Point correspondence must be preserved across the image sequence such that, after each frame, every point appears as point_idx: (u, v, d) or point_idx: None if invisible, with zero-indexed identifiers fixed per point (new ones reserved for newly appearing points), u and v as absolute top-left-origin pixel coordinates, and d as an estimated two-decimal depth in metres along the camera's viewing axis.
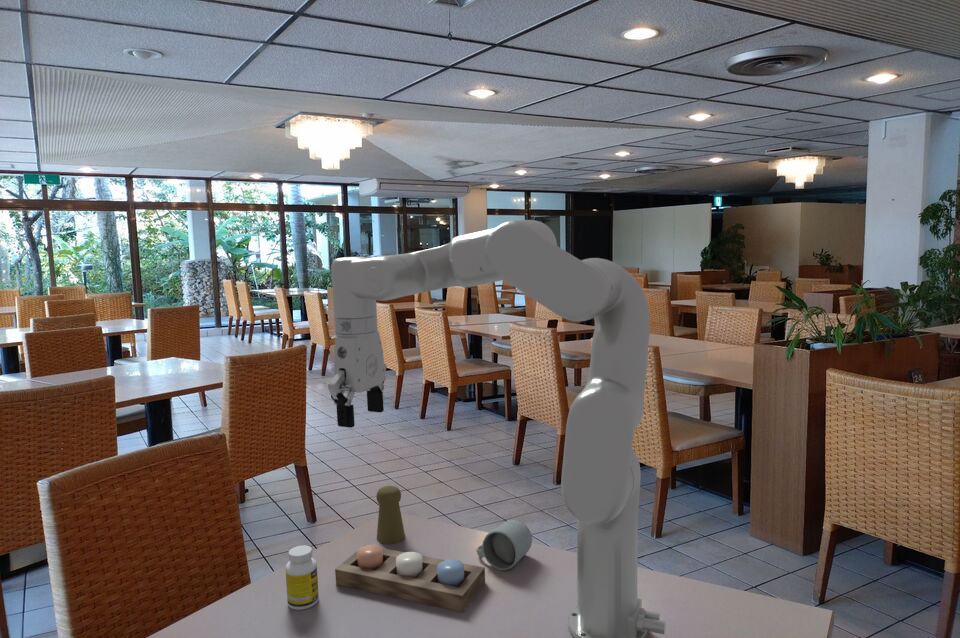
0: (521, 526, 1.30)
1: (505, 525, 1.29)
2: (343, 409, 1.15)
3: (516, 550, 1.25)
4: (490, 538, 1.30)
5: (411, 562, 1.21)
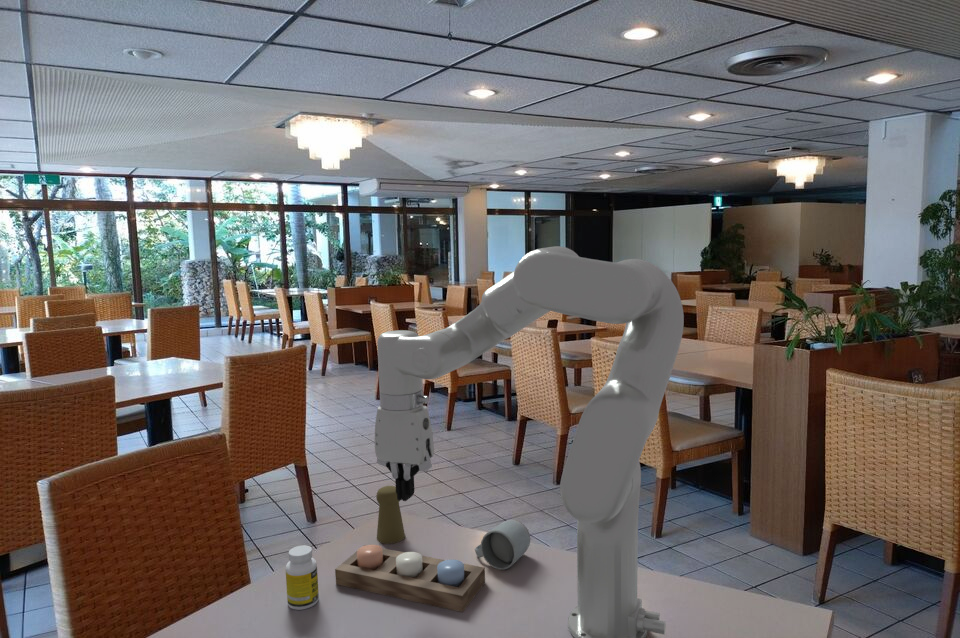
0: (520, 526, 1.30)
1: (503, 525, 1.29)
2: (412, 480, 1.20)
3: (514, 550, 1.25)
4: (488, 538, 1.30)
5: (411, 562, 1.21)
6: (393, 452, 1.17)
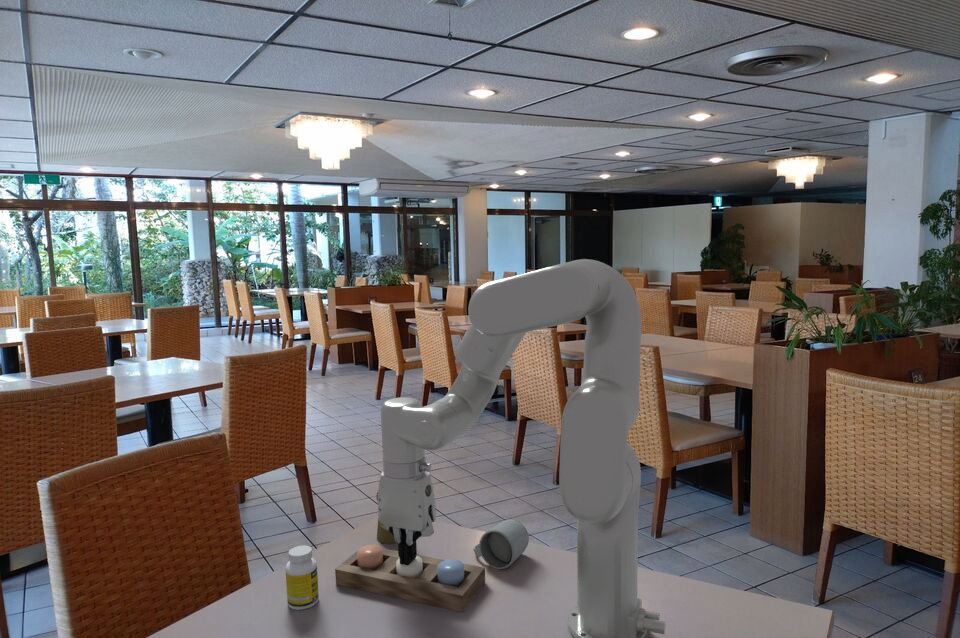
0: (518, 526, 1.30)
1: (502, 524, 1.30)
2: (415, 544, 1.22)
3: (513, 549, 1.25)
4: (487, 537, 1.30)
5: (411, 565, 1.21)
6: (396, 518, 1.19)
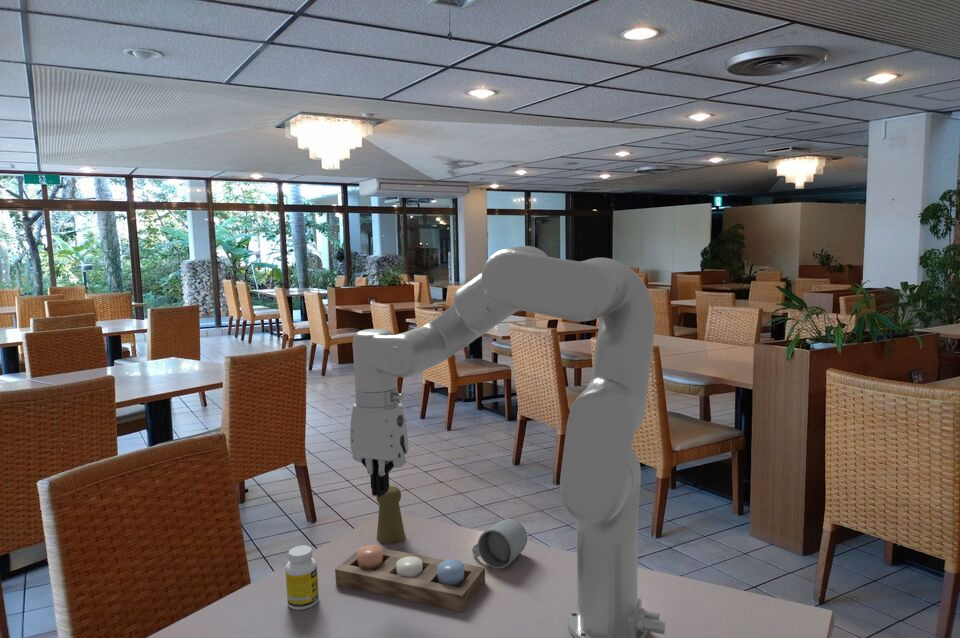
0: (516, 525, 1.31)
1: (500, 524, 1.30)
2: (387, 476, 1.22)
3: (511, 548, 1.25)
4: (485, 537, 1.31)
5: (411, 566, 1.21)
6: (368, 448, 1.20)
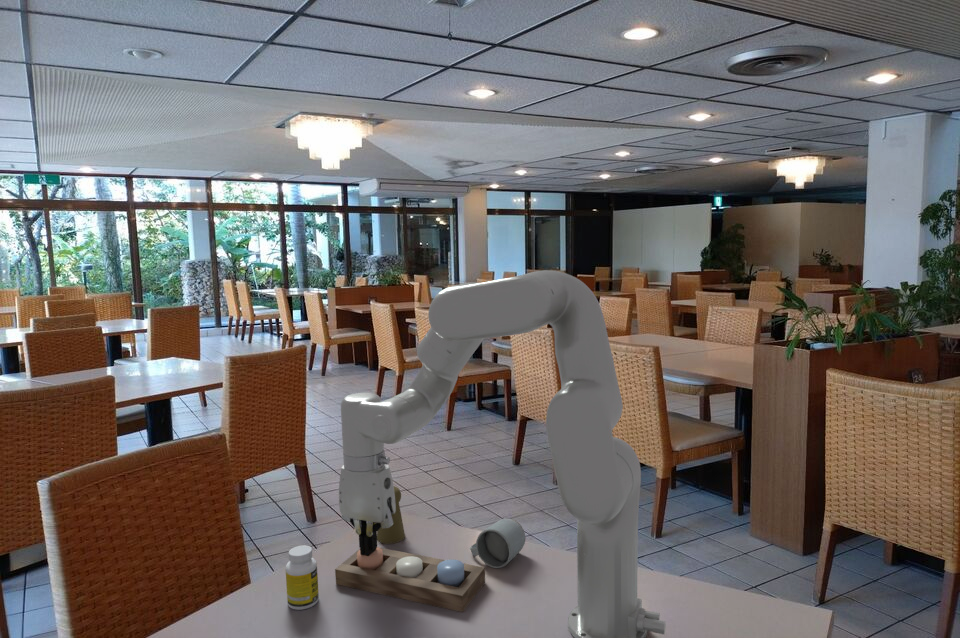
0: (515, 525, 1.31)
1: (499, 523, 1.30)
2: (375, 536, 1.25)
3: (509, 548, 1.25)
4: (484, 536, 1.31)
5: (411, 566, 1.21)
6: (356, 510, 1.23)
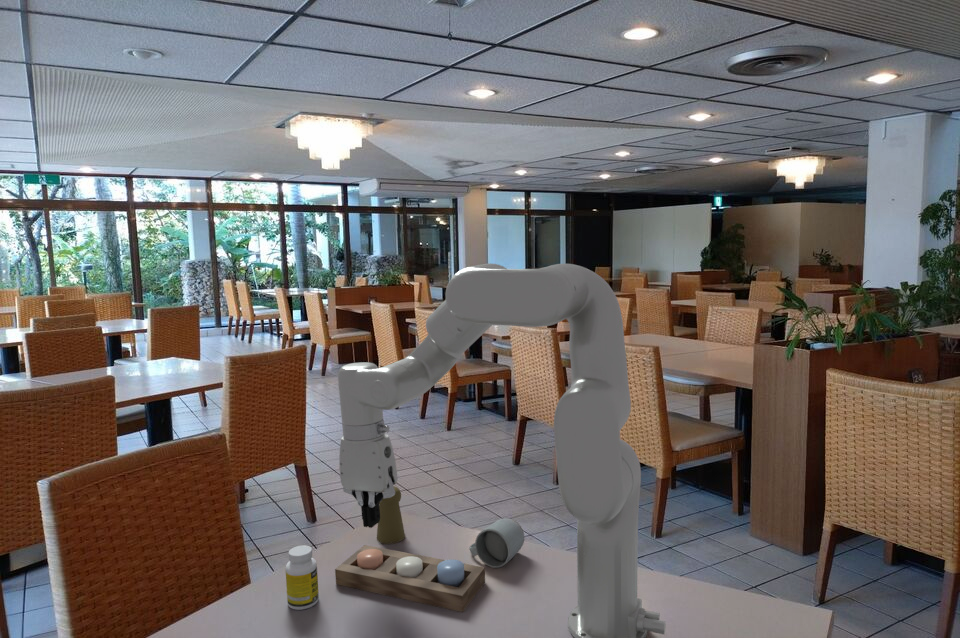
0: (514, 524, 1.31)
1: (498, 523, 1.30)
2: (377, 507, 1.24)
3: (508, 548, 1.26)
4: (483, 536, 1.31)
5: (411, 566, 1.21)
6: (357, 481, 1.21)
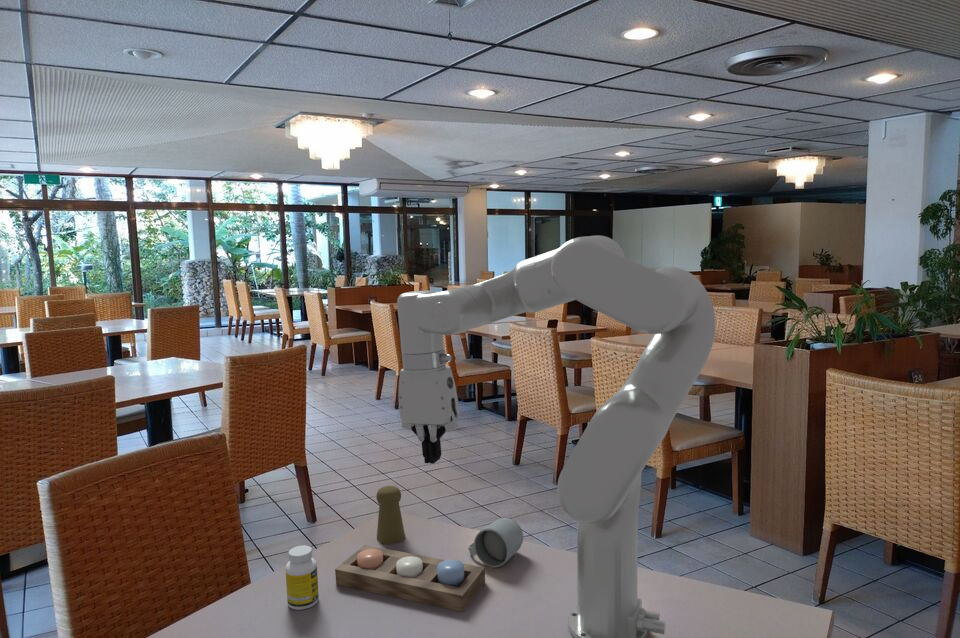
0: (513, 524, 1.31)
1: (496, 523, 1.30)
2: (439, 442, 1.18)
3: (507, 547, 1.26)
4: (482, 536, 1.31)
5: (411, 566, 1.21)
6: (418, 414, 1.16)
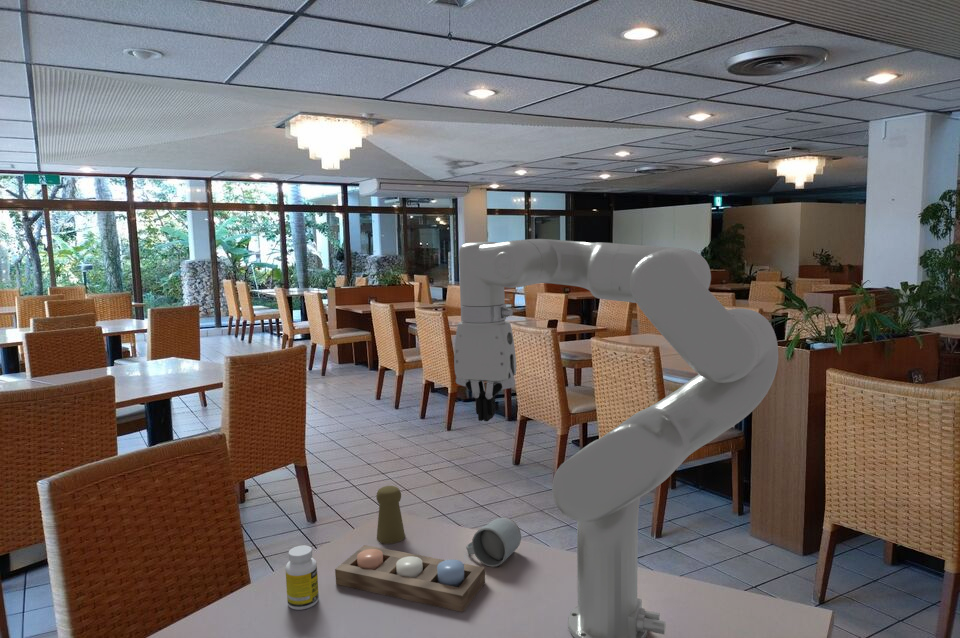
0: (510, 523, 1.31)
1: (494, 522, 1.31)
2: (494, 400, 1.15)
3: (505, 547, 1.26)
4: (480, 535, 1.31)
5: (411, 566, 1.21)
6: (475, 369, 1.12)
